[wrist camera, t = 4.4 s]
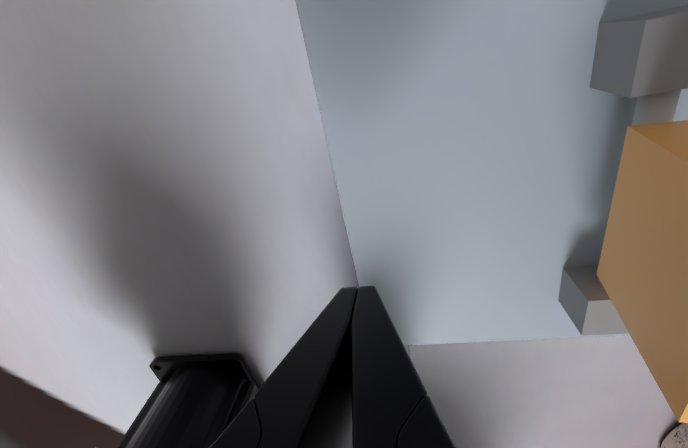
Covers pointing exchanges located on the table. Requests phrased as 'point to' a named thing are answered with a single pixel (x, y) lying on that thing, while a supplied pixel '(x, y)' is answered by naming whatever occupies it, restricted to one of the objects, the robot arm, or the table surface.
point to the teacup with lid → (677, 437)
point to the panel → (488, 151)
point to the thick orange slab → (652, 253)
